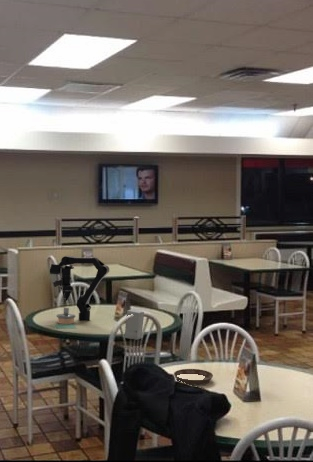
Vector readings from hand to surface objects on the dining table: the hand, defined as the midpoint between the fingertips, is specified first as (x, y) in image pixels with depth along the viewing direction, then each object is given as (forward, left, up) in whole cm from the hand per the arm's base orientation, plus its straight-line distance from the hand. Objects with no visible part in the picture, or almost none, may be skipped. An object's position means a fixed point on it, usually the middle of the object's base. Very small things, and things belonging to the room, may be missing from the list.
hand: (65, 299), depth 403 cm
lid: (+1, +13, -8) cm, 16 cm away
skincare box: (-32, +56, -13) cm, 66 cm away
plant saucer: (-39, +138, -13) cm, 144 cm away
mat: (+3, +25, -12) cm, 28 cm away
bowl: (+1, +13, -12) cm, 18 cm away
